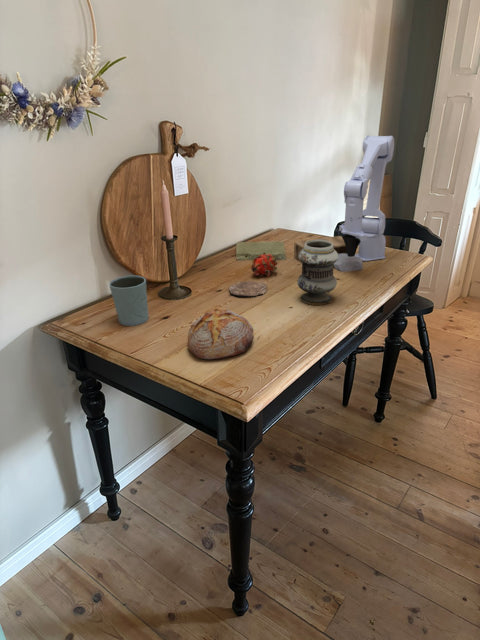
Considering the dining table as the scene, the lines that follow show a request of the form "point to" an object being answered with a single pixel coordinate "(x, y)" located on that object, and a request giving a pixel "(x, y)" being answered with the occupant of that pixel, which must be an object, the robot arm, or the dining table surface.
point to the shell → (248, 289)
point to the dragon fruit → (264, 264)
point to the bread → (219, 335)
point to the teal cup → (130, 299)
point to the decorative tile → (259, 250)
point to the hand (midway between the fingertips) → (351, 256)
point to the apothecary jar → (317, 271)
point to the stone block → (348, 263)
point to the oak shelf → (337, 241)
